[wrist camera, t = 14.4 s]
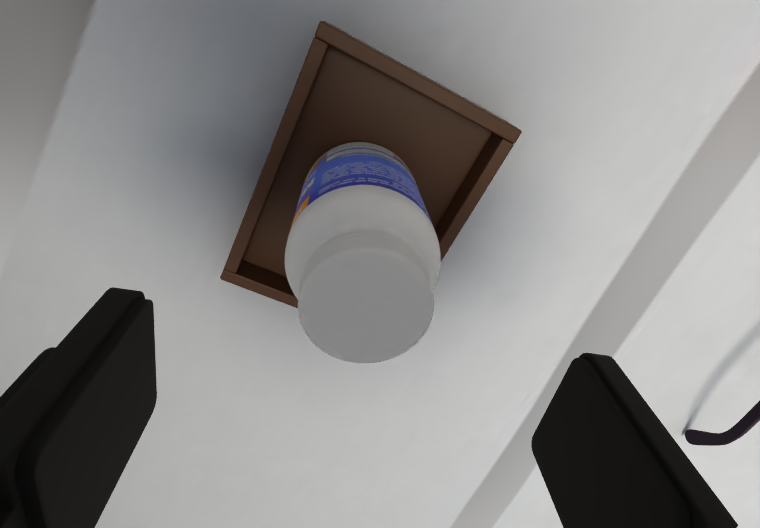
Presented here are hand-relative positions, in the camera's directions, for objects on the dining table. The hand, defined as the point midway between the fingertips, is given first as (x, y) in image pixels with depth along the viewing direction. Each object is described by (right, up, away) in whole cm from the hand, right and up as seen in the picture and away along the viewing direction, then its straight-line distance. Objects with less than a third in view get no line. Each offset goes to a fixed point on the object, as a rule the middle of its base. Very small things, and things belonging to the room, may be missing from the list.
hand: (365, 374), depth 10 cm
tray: (-1, +6, +12) cm, 13 cm away
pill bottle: (-1, +6, +12) cm, 13 cm away
